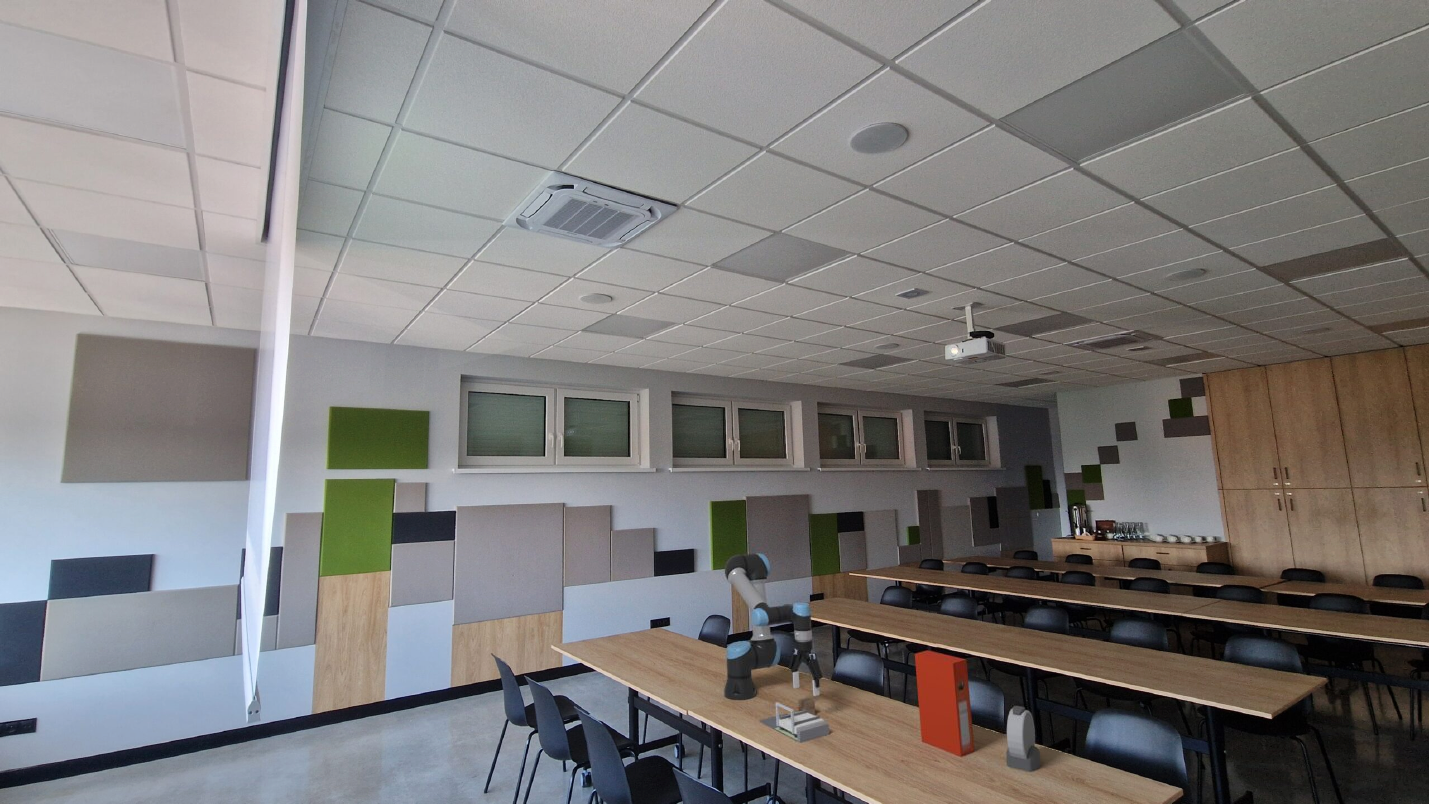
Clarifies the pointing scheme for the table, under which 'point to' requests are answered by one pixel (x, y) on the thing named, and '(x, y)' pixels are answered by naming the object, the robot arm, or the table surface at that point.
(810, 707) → the block
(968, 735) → the file binder
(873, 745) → the table surface
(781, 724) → the white tray
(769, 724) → the grey holder base
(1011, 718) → the grey two-tone upright device
